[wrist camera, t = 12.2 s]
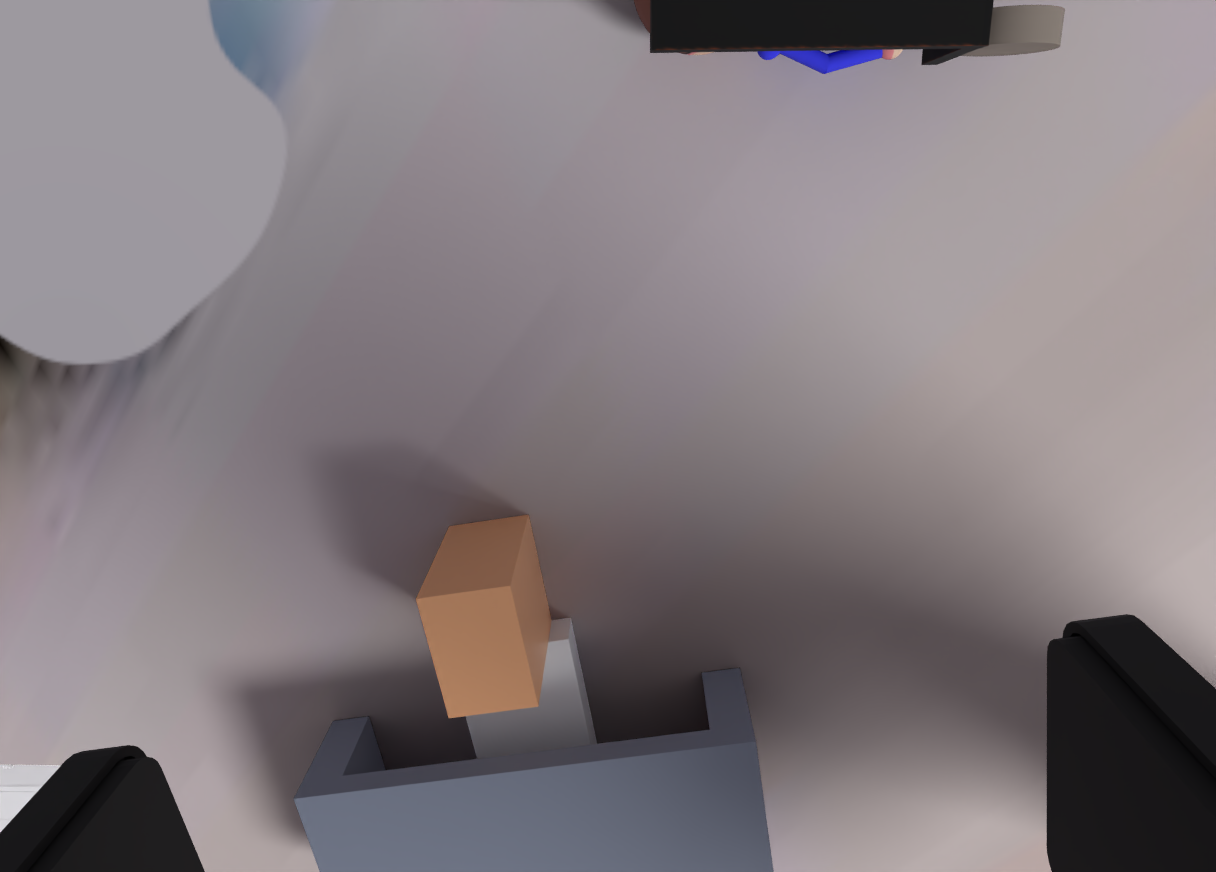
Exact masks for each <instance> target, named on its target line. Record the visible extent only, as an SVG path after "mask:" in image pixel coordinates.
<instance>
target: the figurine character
mask: <svg viewBox="0 0 1216 872" xmlns="http://www.w3.org/2000/svg"><path fill="white" fill-rule="evenodd" d="M993 1H994V0H634V3H635V6H636V10H637V12H638V15H639V17H640V19H641V21H642V23H643V24H644V26H645V27H646V29H647V30H648V32H649V33H650V53H674V52H679V53H682V54H688V55H704V54H709V53H713V52H747V51H757V52H758V54H759V56H760V57H761V58H762V59H765V60H770V59H773V58H775V57H776V56H777V55H778V54H779V53H780V54H782V55H784V56H786V57H789V58H791V59H793V60H795V61H797V62H799V63H801V64H803V65H806V66H808V67H810V68H812V69H814V70H816V71H818V72H820V73H822V74H823V73H824V74H825V73H829V72H832V71H836V70H839V69H843V68H847V67H850V66H854V65H857V64H861V63H864V62H868V61H871V60H875V59H878V58H884V59H888V60H889V59H894V58H896V57H897V56H899V55H900V53H901V52H902V50H903V49H923V54H922V65H937V64H940V63H943V62H945V61H948V60H950V59H953V58H956V57H958V56H1004V55H1018V54H1028V53H1036V52H1042V51H1048V50H1052V49H1056V48H1058V47H1060V43H1061V35H1062V27H1063V20H1064V12H1065V9H1064V8H1062V7H1059V6H1052V5H1017V6H1004V7H995V8H993ZM820 50H840V51H836V52H833V53H829V54H826V53H824V52H821V51H820Z"/></svg>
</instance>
